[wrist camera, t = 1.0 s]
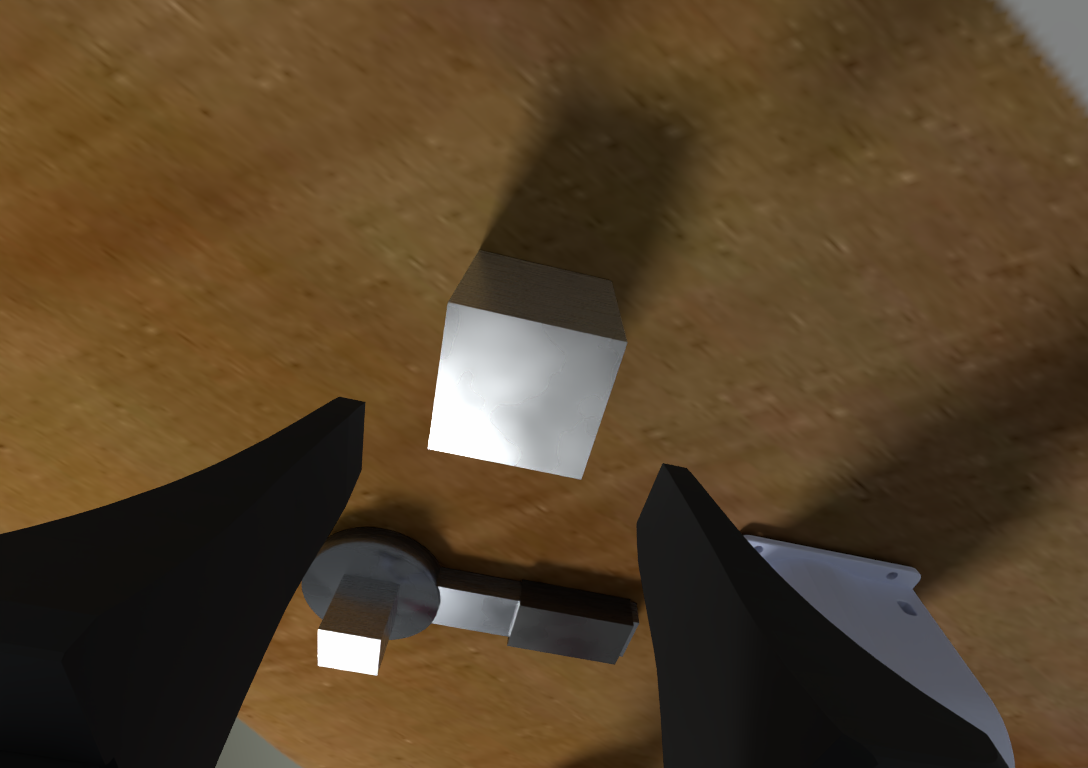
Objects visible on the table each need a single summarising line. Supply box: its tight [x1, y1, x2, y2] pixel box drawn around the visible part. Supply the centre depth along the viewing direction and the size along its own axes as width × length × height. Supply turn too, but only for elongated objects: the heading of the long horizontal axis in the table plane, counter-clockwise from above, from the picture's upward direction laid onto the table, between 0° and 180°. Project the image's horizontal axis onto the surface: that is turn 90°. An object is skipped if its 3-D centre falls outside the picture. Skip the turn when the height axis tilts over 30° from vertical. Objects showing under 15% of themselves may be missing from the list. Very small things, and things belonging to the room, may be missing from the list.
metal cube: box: [428, 250, 627, 479], centre depth 17 cm, size 5×5×6 cm
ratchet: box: [302, 527, 639, 675], centre depth 25 cm, size 17×7×4 cm, turn 77°
